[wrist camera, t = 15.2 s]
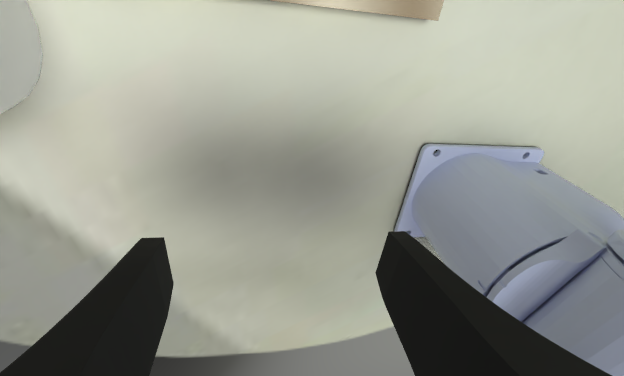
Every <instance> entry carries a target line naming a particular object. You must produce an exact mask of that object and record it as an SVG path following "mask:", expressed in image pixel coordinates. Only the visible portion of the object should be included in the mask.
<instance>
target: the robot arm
mask: <svg viewBox="0 0 624 376" xmlns="http://www.w3.org/2000/svg"><path fill="white" fill-rule="evenodd" d="M435 150H438V151H437V152H436V153H435V154H433V153H434V151H435ZM543 155H544V151H543V150H542V149H540V148H538V147H510V146H481V145H452V144H426V145H425V146H423V147H422V149H421V151H420V154H419V157H418V160H417V163H416V166H415V169H414V172H413V175H412V178H411V181H410V184H409V188H408V191H407V194H406V197H405V200H404V203H403V206H402V209H401V212H400V215H399V218H398V221H397V224H396V227H395V230H394V232H389V233H388V236H387V239H386V242H385V245H384V248H383V251H382V255H381V258H380V261H379V264H378V267H377V270H376V276H377V280H378V283H379V287H380V291H381V294H382V297H383V300H384V303H385V305H386V308H387V310H388V313H389V315H390V317H391V320H392V322H393V324H394V327H395V329H396V331H397V334H398V336H399V338H400V341H401V343H402V345H403V348H404V350H405V352H406V354H407V357H408V359H409V362H410V364H411V367H412V369H413V372H414V374H415V376H624V219H623V218H622V216H621V215H620V214H619V213H618V212H616V211H615V210H614V209H613V208H611V207H610V206H608V205H607V204H605V203H603V202H602V201H600V200H598V199H597V198H595V197H593V196H592V195H590V194H589V193H587V192H585V191H584V190H582V189H580V188H579V187H577V186H575V185H574V184H572V183H571V182H569V181H567V180H566V179H564V178H562V177H561V176H559V175H557V174H556V173H554V172H553V171H551V170H549V169H548V168H546V167H544V166H543V165H541V164H539V162H540V161H541V159H542V157H543ZM406 231H407V232H406ZM413 237H426V238H427V239H428V241H429V242H430V244H431V245H432V247H433V248H434V249H435V251H436V252H437V254H438V255H439V257H440V258H441V260H442V261H443V262H444V263H443V262H441V261H440V260H439V259H438V258H437V257H436V256H434V255H433V254H432V253H431V252H430V251H428V250H427V249H426V248H425V247H424V246H423V245H421V244H420V243H419V242H418V241H417V240H415V239H414V238H413ZM172 289H173V279H172V274H171V269H170V264H169V260H168V255H167V250H166V245H165V240H164V238H141V239H140V240H139V241H138V242H137V243H136V244H135V245H134V246H133V247H132V248H131V250H130V251H129V252H128V253H127V254H126V255H125V256H124V257H123V258H122V259H121V260H120V261H119V262H118V263H117V265H116V266H115V267H114V268H113V269H112V270H111V271H110V272H109V273H108V274H107V275H106V276H105V277H104V278H103V279H102V280H101V281H100V282H99V283H98V284H97V285H96V286H95V287H94V288H93V289H92V290H91V291H90V292H89V293H88V294H87V295H86V296H85V297H84V298H83V299H82V300H81V301H80V302H79V303H78V304H77V305H76V306H75V307H74V308H73V309H72V310H71V311H70V312H69V313H68V314H67V315H65V316H64V317H63V318H62V319H61V320H60V321H59V322H58V323H57V324H56V325H55V326H54V327H53V328H52V329H50V330H49V331H48V332H47V333H46V334H45V335H44V336H43V337H42V338H40V339H39V340H38V341H37V342H36V343H35V344H34V345H33V346H31V347H30V348H29V349H28V350H27V351H26V352H25V353H23V354H22V355H21V356H20V357H19V358H17V359H16V360H15V361H14V362H13V363H11V364H10V365H9V366H8V367H7V368H5V369H4V370H3V371H2V372H1V373H0V376H149V374H150V371H151V367H152V365H153V361H154V358H155V355H156V352H157V349H158V345H159V342H160V339H161V336H162V332H163V329H164V326H165V323H166V319H167V316H168V311H169V306H170V301H171V295H172Z"/></svg>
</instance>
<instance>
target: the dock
mask: <svg viewBox="0 0 624 376" xmlns="http://www.w3.org/2000/svg"><path fill="white" fill-rule="evenodd" d="M272 1H280V2H288V3H296V4H305V5H313V6H321V7H329V8H338V9H346V10H354V11H362V12H371V13H379V14H387V15H395V16H404V17H412V18H420V19H428V20H436V21H438V19H439V16H440V12H441V9H442V5H443V2H444V0H272Z"/></svg>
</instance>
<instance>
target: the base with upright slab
mask: <svg viewBox="0 0 624 376" xmlns="http://www.w3.org/2000/svg"><path fill="white" fill-rule="evenodd" d="M42 57H43V53H42V47H41V41H40V35H39V29H38V26H37V24H36V21H35V19H34V17H33V14H32V12H31V10H30V7H29V5H28V3H27V0H0V114H1V113H3V112H5V111H7V110H9V109H11V108H13V107H14V106H15V105H17V104H18V103H19V102H21V101H22V100H24V99H25V98H26V97H28V96H29V94H30V93H31V91H32V89H33V88H34V86H35V84H36V83H37V81H38V79H39V77H40V71H41V64H42Z"/></svg>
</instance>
